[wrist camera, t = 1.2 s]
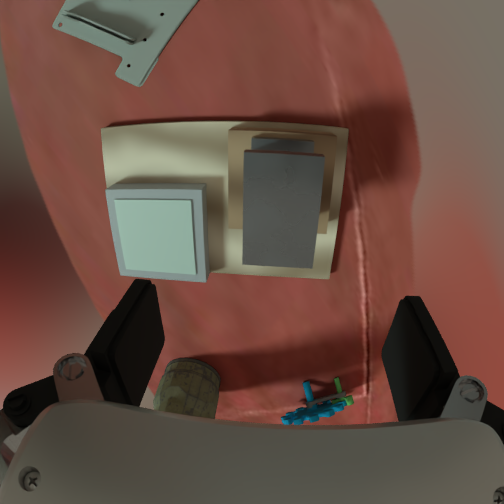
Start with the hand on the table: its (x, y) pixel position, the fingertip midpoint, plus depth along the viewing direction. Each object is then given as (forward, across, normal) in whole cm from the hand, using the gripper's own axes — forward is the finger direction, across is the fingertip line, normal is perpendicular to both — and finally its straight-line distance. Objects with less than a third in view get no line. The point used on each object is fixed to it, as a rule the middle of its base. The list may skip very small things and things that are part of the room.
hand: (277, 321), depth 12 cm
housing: (+17, 0, 0) cm, 17 cm away
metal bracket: (+21, +15, -19) cm, 32 cm away
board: (+21, +6, +3) cm, 22 cm away
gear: (+22, -8, +32) cm, 40 cm away
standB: (+20, +12, +6) cm, 24 cm away
